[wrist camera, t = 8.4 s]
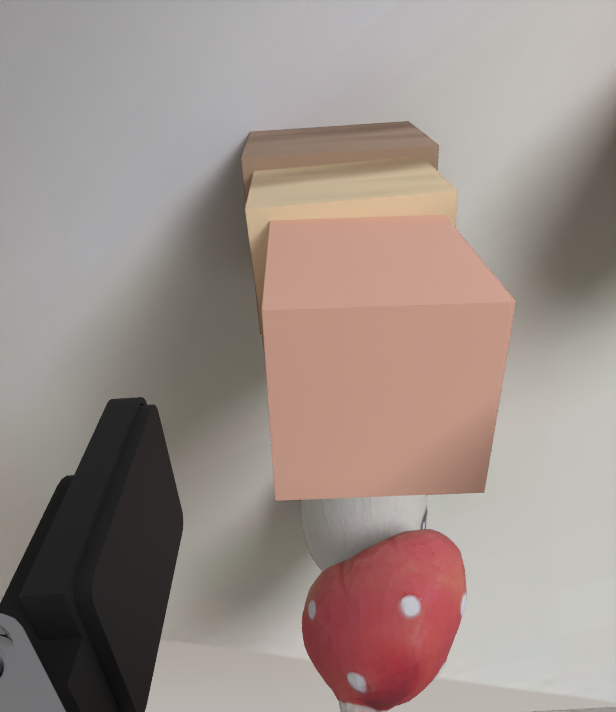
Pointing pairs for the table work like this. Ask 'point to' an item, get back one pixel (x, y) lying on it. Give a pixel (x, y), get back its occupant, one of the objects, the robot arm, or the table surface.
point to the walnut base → (333, 147)
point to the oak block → (342, 198)
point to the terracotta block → (381, 357)
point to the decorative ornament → (379, 598)
